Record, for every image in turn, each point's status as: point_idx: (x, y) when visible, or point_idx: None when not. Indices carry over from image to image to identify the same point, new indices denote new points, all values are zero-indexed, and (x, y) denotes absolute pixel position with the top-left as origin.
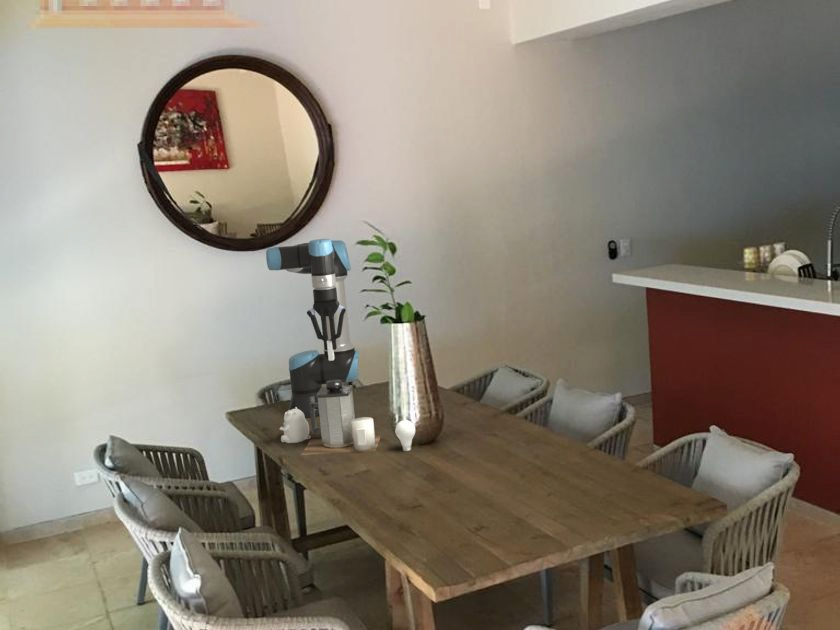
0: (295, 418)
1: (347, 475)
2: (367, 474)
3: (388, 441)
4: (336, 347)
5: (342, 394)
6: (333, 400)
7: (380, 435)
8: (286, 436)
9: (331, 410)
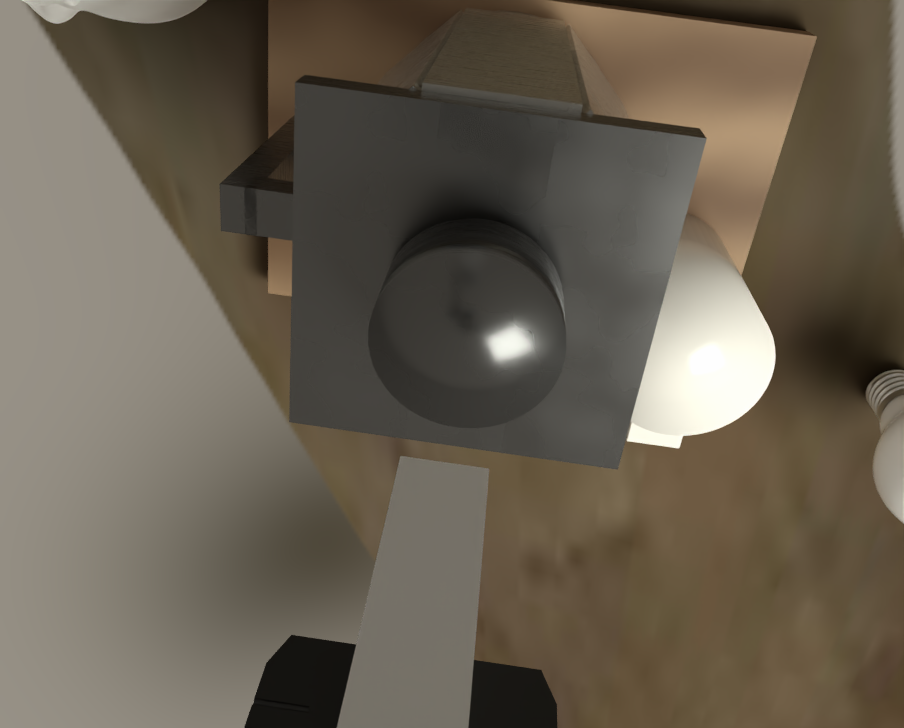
0: (98, 2)
1: (534, 562)
2: (625, 577)
3: (847, 92)
4: (552, 702)
5: (557, 454)
6: None
7: (813, 39)
8: None
9: None
